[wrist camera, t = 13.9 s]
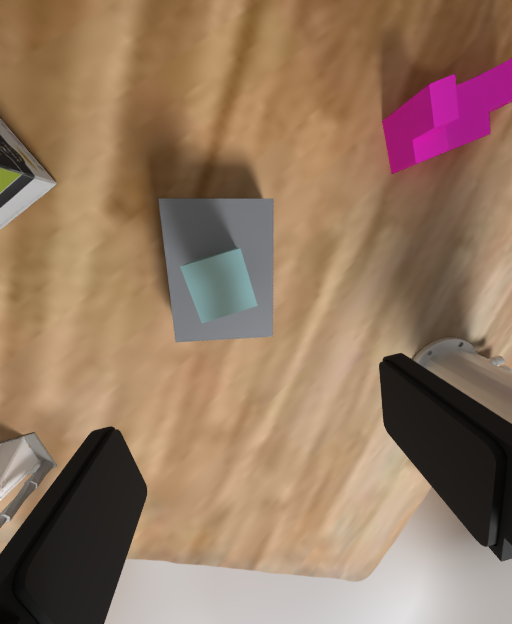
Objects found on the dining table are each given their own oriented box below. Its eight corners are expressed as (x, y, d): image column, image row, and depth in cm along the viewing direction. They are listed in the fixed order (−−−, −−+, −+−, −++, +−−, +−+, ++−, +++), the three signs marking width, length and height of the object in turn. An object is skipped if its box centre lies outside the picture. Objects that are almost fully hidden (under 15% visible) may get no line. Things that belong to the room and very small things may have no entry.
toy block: (390, 174, 32) (437, 154, 25) (381, 121, 30) (428, 84, 23) (495, 131, 32) (572, 99, 25) (492, 76, 30) (574, 24, 23)
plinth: (265, 206, 31) (273, 198, 26) (265, 321, 36) (272, 336, 30) (171, 206, 30) (158, 198, 25) (184, 325, 35) (175, 342, 29)
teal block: (236, 247, 27) (240, 248, 19) (248, 289, 28) (257, 305, 21) (193, 260, 27) (180, 266, 19) (208, 301, 28) (201, 323, 20)
